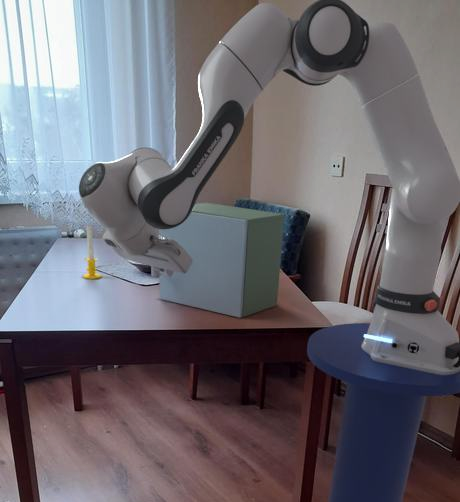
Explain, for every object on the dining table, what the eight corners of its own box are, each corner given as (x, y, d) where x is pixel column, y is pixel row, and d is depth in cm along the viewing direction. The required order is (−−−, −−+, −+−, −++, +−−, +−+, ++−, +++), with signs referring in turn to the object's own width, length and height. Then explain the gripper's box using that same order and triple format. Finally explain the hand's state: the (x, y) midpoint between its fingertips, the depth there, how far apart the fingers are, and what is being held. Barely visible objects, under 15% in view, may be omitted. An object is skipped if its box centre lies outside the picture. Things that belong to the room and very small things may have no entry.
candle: (103, 275, 173) (100, 223, 166) (97, 279, 168) (94, 226, 161) (86, 274, 173) (83, 222, 166) (81, 278, 169) (77, 225, 162)
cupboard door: (228, 322, 136) (234, 222, 126) (147, 302, 148) (145, 209, 138) (242, 316, 141) (247, 220, 131) (161, 298, 153) (161, 207, 142)
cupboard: (242, 317, 142) (248, 219, 131) (168, 296, 155) (168, 206, 144) (276, 305, 153) (284, 214, 142) (204, 286, 167) (207, 202, 156)
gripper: (179, 228, 111) (209, 270, 123) (110, 215, 122) (143, 254, 133) (164, 253, 110) (195, 293, 122) (96, 238, 121) (130, 276, 132)
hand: (167, 273), depth 128 cm, fingers closed
